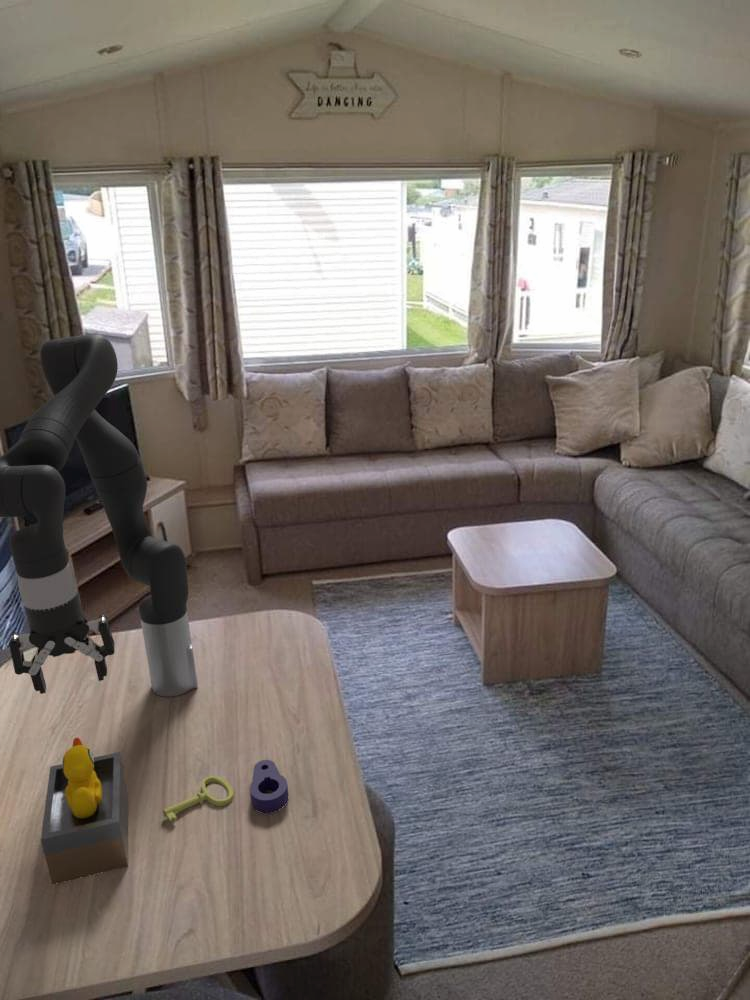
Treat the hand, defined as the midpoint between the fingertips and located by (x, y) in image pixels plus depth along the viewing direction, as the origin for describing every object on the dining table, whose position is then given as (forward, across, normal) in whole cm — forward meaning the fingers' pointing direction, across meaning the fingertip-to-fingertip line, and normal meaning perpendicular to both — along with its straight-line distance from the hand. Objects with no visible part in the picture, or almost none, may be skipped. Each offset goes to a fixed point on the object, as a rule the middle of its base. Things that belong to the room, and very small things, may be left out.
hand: (72, 684), depth 119 cm
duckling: (+20, +2, +5) cm, 20 cm away
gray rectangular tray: (+26, +2, +6) cm, 27 cm away
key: (+27, -16, +4) cm, 31 cm away
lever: (+27, -27, +4) cm, 39 cm away
